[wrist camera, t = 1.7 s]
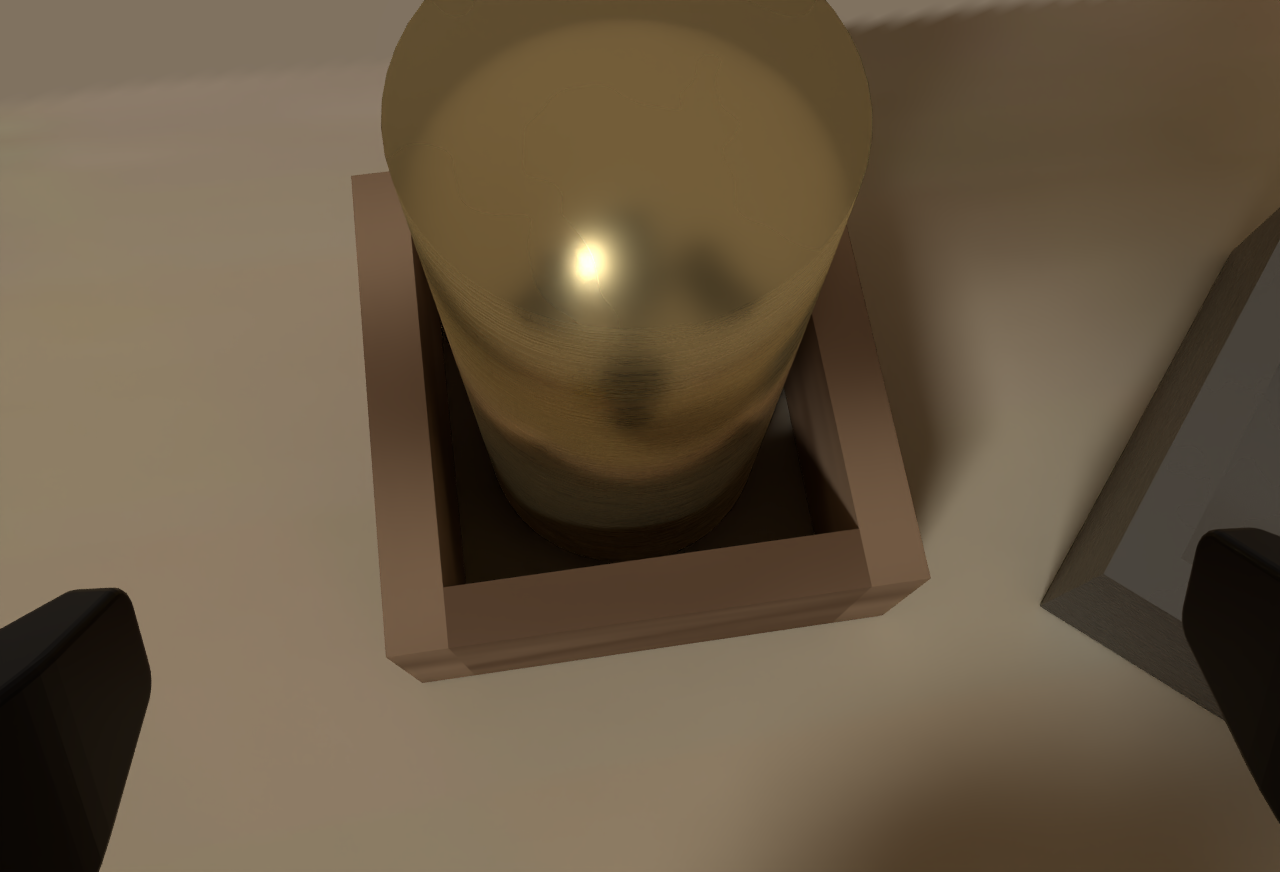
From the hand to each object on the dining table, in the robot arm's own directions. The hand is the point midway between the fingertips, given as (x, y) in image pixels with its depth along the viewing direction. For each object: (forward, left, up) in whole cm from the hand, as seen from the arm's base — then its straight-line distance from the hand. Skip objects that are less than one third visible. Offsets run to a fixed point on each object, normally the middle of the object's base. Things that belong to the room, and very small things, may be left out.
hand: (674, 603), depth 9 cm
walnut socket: (+4, -4, -12) cm, 14 cm away
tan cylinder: (+4, -4, -12) cm, 14 cm away
